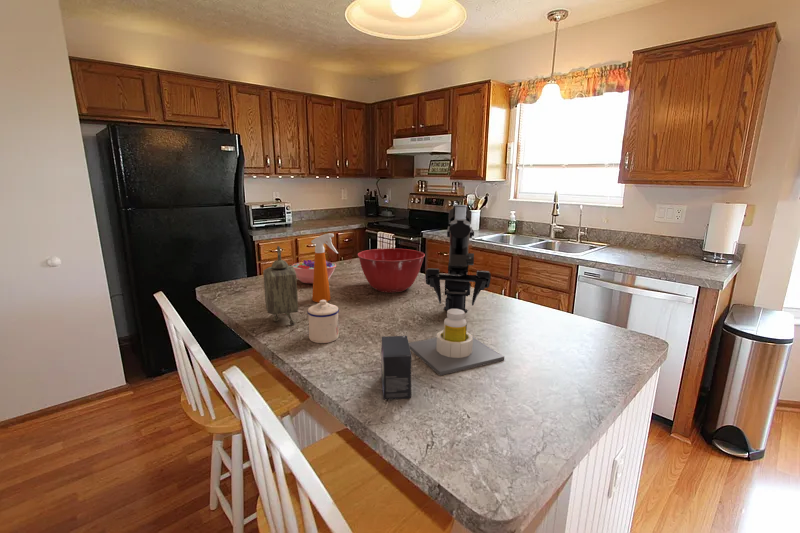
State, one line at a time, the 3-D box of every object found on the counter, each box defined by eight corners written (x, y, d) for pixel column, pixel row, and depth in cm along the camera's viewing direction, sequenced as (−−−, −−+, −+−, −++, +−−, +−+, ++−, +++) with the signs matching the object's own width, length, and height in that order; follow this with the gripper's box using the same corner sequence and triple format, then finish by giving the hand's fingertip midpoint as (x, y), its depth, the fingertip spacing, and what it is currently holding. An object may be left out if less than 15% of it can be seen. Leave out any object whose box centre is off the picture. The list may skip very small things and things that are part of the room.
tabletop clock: (299, 326, 122) (295, 249, 117) (269, 330, 119) (263, 251, 113) (293, 311, 135) (289, 242, 130) (266, 314, 132) (261, 243, 126)
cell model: (294, 278, 180) (293, 254, 177) (337, 277, 182) (337, 254, 180) (288, 288, 164) (287, 262, 161) (335, 287, 166) (335, 262, 163)
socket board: (464, 335, 117) (465, 319, 116) (504, 359, 102) (505, 342, 100) (406, 346, 109) (407, 330, 108) (439, 375, 93) (440, 356, 92)
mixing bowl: (350, 283, 173) (349, 249, 169) (407, 277, 184) (408, 245, 180) (370, 301, 147) (370, 262, 144) (435, 294, 158) (436, 257, 155)
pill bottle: (469, 352, 103) (471, 314, 101) (448, 355, 101) (450, 316, 99) (459, 343, 109) (461, 306, 106) (439, 345, 107) (440, 308, 105)
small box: (380, 375, 93) (380, 335, 90) (407, 374, 93) (407, 334, 91) (382, 400, 83) (382, 355, 80) (412, 399, 83) (413, 354, 81)
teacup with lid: (344, 339, 113) (343, 302, 110) (314, 346, 108) (313, 307, 105) (328, 326, 123) (327, 291, 120) (301, 332, 118) (299, 296, 115)
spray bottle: (336, 304, 144) (334, 234, 138) (309, 302, 146) (306, 233, 140) (342, 298, 151) (340, 232, 145) (316, 296, 153) (313, 231, 147)
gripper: (426, 241, 111) (422, 288, 103) (492, 243, 108) (492, 292, 100) (428, 261, 120) (424, 306, 112) (488, 264, 118) (488, 310, 110)
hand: (456, 303), depth 108 cm, fingers open, 9 cm apart
